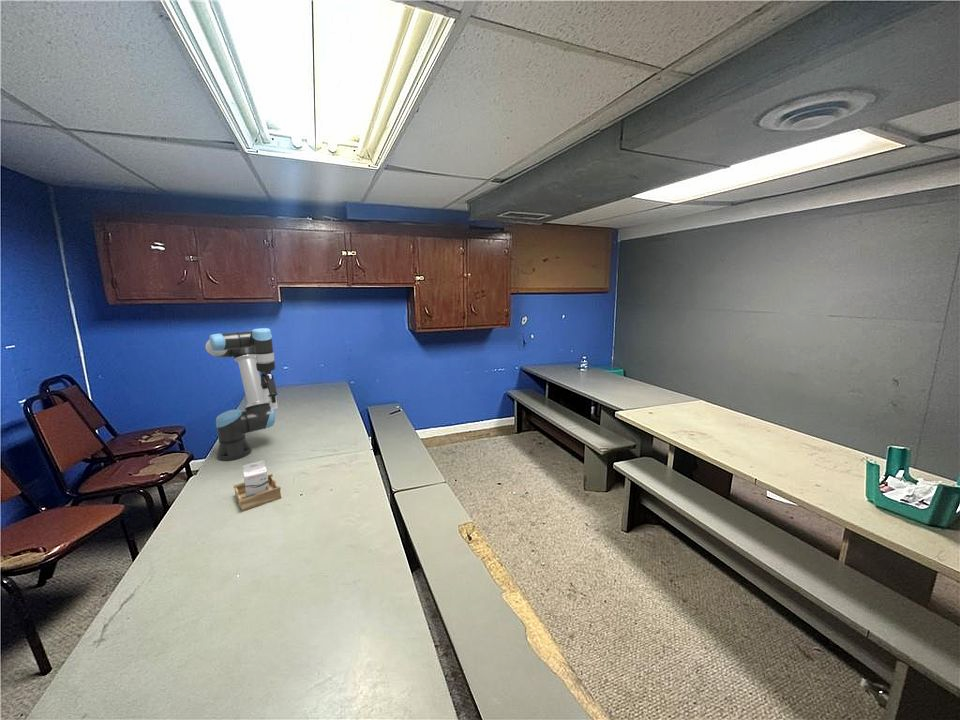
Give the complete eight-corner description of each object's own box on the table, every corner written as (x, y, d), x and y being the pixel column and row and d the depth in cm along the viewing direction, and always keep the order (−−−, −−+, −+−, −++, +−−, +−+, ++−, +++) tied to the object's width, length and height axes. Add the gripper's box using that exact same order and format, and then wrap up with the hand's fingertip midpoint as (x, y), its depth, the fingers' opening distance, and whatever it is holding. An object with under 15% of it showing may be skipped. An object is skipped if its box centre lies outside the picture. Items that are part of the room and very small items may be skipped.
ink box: (247, 502, 153) (242, 470, 150) (246, 496, 157) (241, 465, 153) (270, 495, 158) (266, 464, 154) (268, 490, 162) (264, 459, 158)
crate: (235, 496, 158) (233, 485, 157) (273, 483, 168) (271, 473, 167) (241, 512, 147) (239, 501, 146) (281, 498, 157) (280, 487, 156)
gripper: (250, 358, 177) (256, 400, 181) (262, 368, 158) (268, 414, 163) (267, 356, 181) (272, 397, 186) (281, 365, 163) (286, 410, 168)
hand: (270, 405), depth 175 cm, fingers open, 13 cm apart
